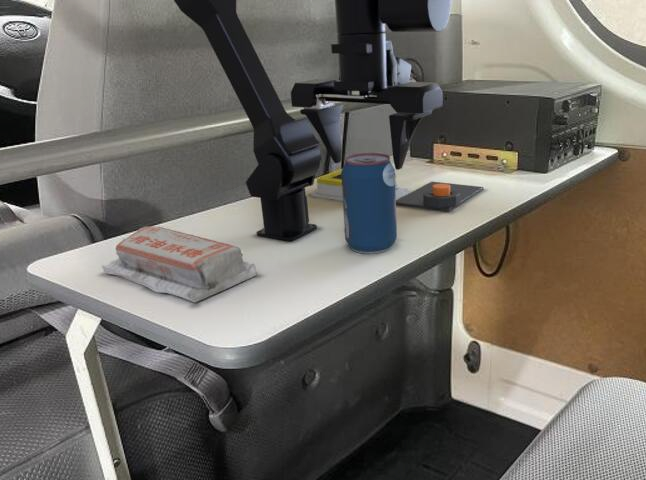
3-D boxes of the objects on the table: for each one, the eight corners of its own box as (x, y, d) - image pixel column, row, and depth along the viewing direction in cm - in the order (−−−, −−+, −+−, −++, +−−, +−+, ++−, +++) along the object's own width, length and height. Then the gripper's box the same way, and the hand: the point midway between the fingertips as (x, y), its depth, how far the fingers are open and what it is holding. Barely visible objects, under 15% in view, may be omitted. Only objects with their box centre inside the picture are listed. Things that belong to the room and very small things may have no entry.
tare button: (445, 198, 98) (445, 188, 97) (429, 196, 99) (429, 187, 99) (453, 194, 100) (453, 184, 99) (437, 192, 101) (437, 182, 101)
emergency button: (338, 159, 114) (409, 167, 107) (340, 183, 116) (410, 192, 109) (306, 170, 107) (379, 180, 100) (308, 196, 109) (380, 206, 102)
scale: (450, 213, 97) (450, 199, 96) (391, 205, 102) (391, 192, 101) (485, 190, 108) (485, 177, 107) (431, 184, 113) (431, 172, 112)
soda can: (407, 245, 85) (406, 156, 80) (371, 259, 80) (366, 166, 75) (371, 234, 89) (367, 149, 84) (335, 247, 85) (328, 158, 80)
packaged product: (255, 238, 75) (187, 266, 68) (260, 276, 77) (195, 306, 70) (161, 216, 85) (93, 238, 77) (168, 250, 87) (102, 274, 79)
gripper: (462, 28, 75) (460, 158, 82) (334, 30, 84) (342, 147, 91) (419, 33, 67) (421, 178, 73) (282, 35, 76) (294, 164, 82)
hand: (367, 165), depth 80 cm, fingers open, 9 cm apart
